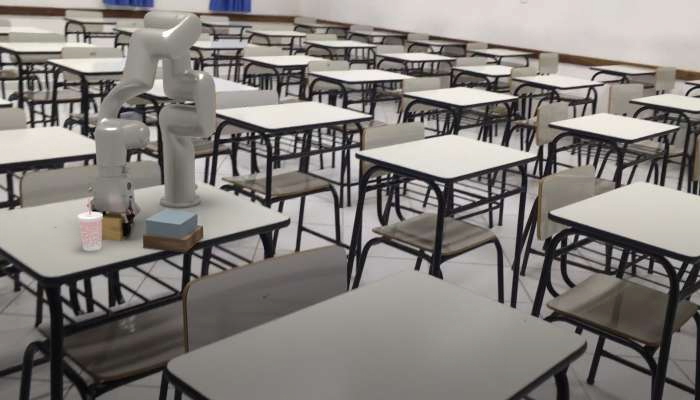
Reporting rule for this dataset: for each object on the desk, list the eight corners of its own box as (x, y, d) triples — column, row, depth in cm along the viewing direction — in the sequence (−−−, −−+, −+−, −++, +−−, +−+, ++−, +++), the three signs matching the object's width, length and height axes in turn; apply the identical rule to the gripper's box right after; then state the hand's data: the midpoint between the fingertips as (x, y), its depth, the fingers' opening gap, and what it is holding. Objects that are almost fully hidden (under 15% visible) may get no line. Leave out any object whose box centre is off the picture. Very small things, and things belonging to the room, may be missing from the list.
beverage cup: (95, 241, 186) (92, 192, 182) (109, 247, 183) (106, 196, 179) (75, 247, 182) (71, 196, 178) (89, 253, 178) (85, 201, 174)
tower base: (163, 234, 196) (162, 221, 194) (203, 239, 193) (203, 225, 192) (143, 249, 184) (142, 235, 183) (185, 254, 182) (185, 240, 181)
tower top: (164, 222, 193) (164, 209, 192) (197, 227, 191) (197, 213, 190) (146, 234, 184) (145, 219, 183) (180, 239, 182) (179, 224, 181)
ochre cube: (111, 231, 195) (110, 211, 193) (131, 233, 194) (130, 213, 192) (99, 238, 189) (98, 217, 187) (120, 240, 188) (119, 220, 186)
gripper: (148, 170, 188) (150, 232, 193) (89, 164, 191) (93, 226, 196) (135, 177, 181) (138, 241, 186) (74, 171, 184) (79, 234, 189)
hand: (115, 233), depth 191 cm, fingers closed on ochre cube, 6 cm apart
